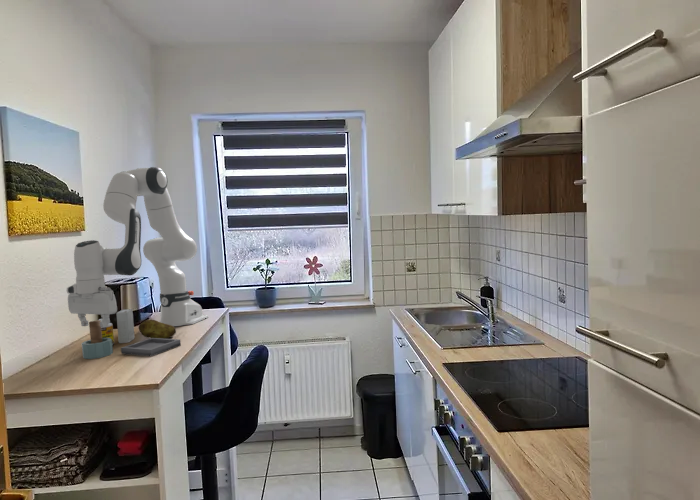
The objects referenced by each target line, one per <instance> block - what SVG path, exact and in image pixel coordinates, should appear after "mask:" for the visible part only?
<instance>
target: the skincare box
mask: <svg viewBox="0 0 700 500" xmlns="http://www.w3.org/2000/svg"><path fill="white" fill-rule="evenodd" d="M133 312H134V311H133V308H129V309H121V310H120V311H117V312H116V313H115V314H116V327H117V337H118V339H117V341H118V344H127V343H131V342H132V341H133V340H134V339H135V324H134V313H133Z"/></svg>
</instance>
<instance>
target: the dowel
mask: <svg viewBox="0 0 700 500" xmlns="http://www.w3.org/2000/svg"><path fill="white" fill-rule="evenodd" d="M100 322H101V321H100V320H99V319H97V320H92V321H88V324H89V325H88V327H89V335H90V340H91V344H93V343H100V342H103V341H102V331H101V327H100Z"/></svg>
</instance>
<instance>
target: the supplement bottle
mask: <svg viewBox="0 0 700 500" xmlns="http://www.w3.org/2000/svg"><path fill="white" fill-rule="evenodd" d="M98 320H100V321H101V322H102V318H99V319H98ZM101 331H102V338H111V339H112V346H113V345H114V344H115V338H114V325H113V323H112V322H111V320H110V317H109V319H108V321H107V327H101Z"/></svg>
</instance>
